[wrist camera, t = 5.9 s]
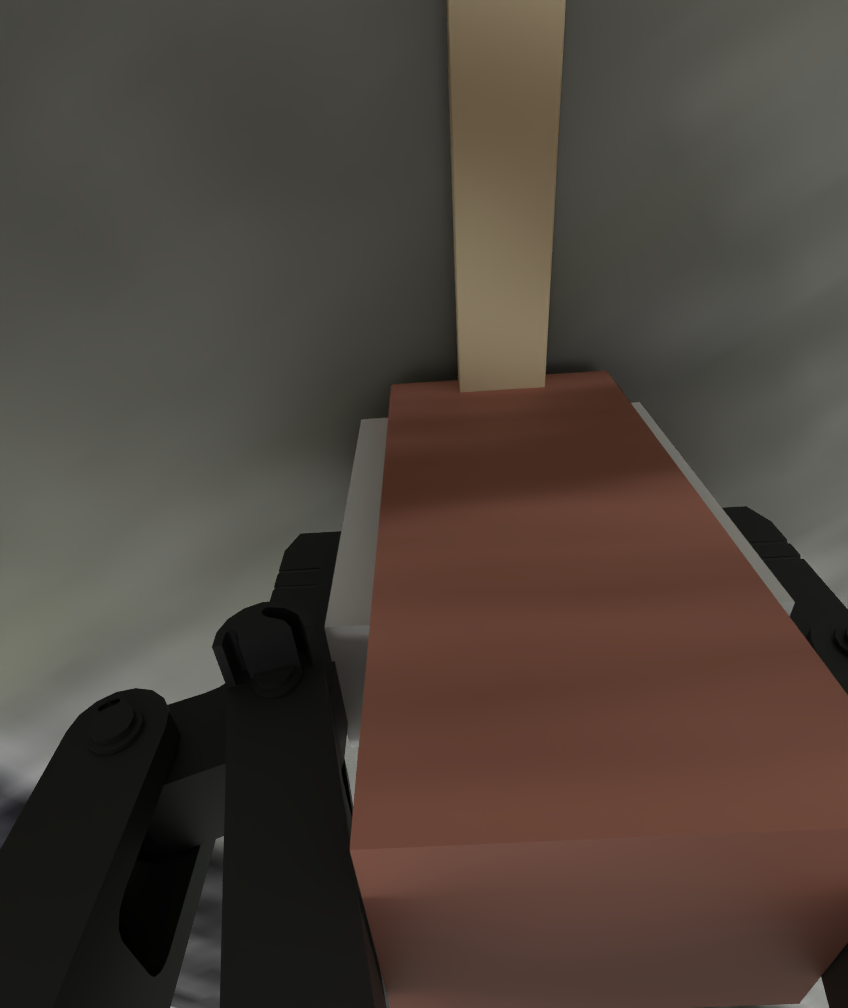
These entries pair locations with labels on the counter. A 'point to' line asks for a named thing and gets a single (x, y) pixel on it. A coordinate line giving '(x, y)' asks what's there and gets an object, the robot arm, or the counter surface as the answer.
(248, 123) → the counter surface
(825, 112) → the counter surface
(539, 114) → the tethered block
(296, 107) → the counter surface
